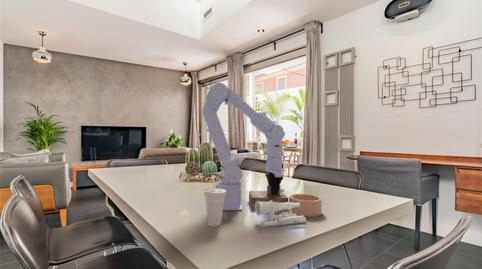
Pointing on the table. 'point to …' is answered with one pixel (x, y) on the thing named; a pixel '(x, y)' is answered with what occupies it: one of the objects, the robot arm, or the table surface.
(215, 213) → the smoothie
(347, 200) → the table surface
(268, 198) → the board
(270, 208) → the white joined tubes piece
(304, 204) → the bowl
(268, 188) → the connector
